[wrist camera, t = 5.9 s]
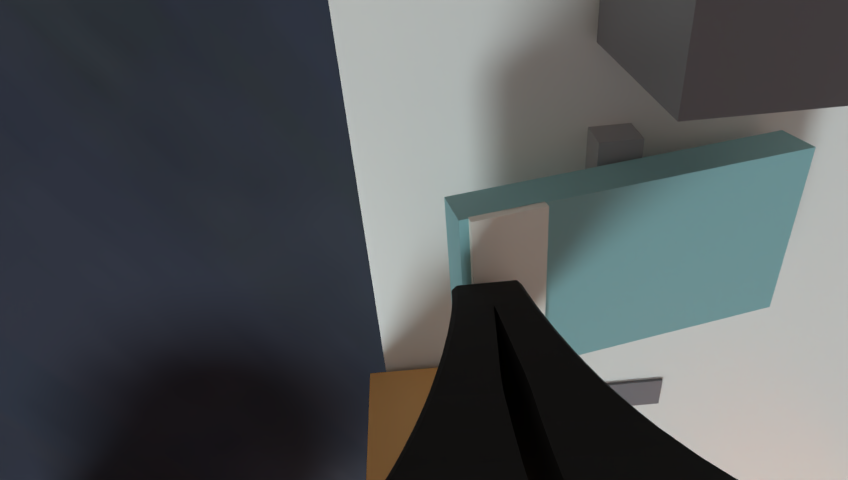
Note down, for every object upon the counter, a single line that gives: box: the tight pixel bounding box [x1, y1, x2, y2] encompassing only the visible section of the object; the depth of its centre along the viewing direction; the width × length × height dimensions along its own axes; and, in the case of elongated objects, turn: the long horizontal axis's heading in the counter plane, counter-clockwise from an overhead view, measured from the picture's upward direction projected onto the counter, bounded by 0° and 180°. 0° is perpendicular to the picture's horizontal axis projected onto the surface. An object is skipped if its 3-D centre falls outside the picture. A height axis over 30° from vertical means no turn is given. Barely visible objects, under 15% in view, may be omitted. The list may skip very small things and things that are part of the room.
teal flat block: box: [444, 130, 816, 355], centre depth 14 cm, size 8×4×1 cm, turn 95°
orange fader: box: [366, 367, 438, 480], centre depth 17 cm, size 3×4×4 cm
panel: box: [328, 0, 848, 480], centre depth 16 cm, size 18×24×2 cm
